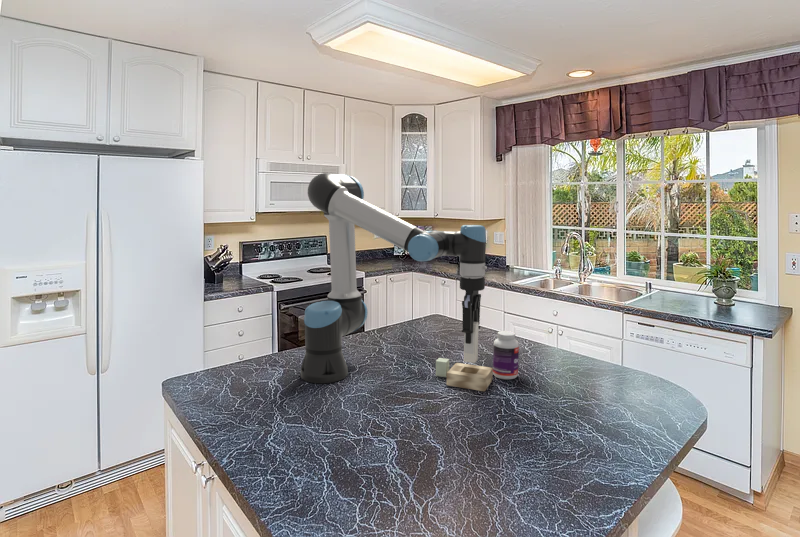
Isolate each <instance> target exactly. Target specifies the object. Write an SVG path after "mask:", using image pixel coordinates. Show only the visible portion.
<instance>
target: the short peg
mask: <svg viewBox="0 0 800 537" xmlns="http://www.w3.org/2000/svg"><path fill="white" fill-rule="evenodd" d="M449 370H450V358H443V357H438V358H437V359H436V360H435V376H436V377H442V378H447V372H448V371H449Z"/></svg>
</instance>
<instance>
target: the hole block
mask: <svg viewBox="0 0 800 537" xmlns="http://www.w3.org/2000/svg"><path fill="white" fill-rule="evenodd" d="M493 380H494V379H493V367H489V366H483V365H476V364H475V365H474V364H468V363H461V362H456V363H454V364H453V365H452V367H450V368H449V371H448V372H447V377H446V386H450V387H455V388H461V389H468V390H475V391H478V392H486V390H487V389H488V388H489V386H490V384H491V383H492V382H493Z"/></svg>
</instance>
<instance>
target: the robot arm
mask: <svg viewBox="0 0 800 537" xmlns="http://www.w3.org/2000/svg"><path fill="white" fill-rule="evenodd" d="M307 197H308V200H309V202H310V204H312V205H313V207H315V208H316V209H317V210H319V211H322V212H323V216H324V217H325V219H327V220H328V228H329V229H328V234H329V255H330V256H329V257H330V259H329V260H330V281H331V283H330V284H331V291H330V292H329V293H328V294H327V300H321V301H316V302H313V303H311V304H309V305H307V307H306V308H305V310H304V318H303V323H304V342H305V343H304V346H305V351H304V352H305V354H304V357H303V361H302V363H301V367H300V378H301V379H302V381H305V382H308V383H312V384H329V383H335V382H339V381H341V380H344V379H345V378H346V377H347V376H348V375H349V374H348V373H349V371H348V370H349V368H348V365H347V362H346V359H345V357H344V353H343V347H342V346H343V345H342V344H343V337H346V335H349V334H351V333H353V332H356V331H357V330H359V329H360V328H361V327H362V326H364V324H365V322H366V321H367V318H368V308H367V305H366V303H365V302H364V300H363V299H362V293H361V292H360V291H359V290H358V288H357V287H358V286H357V285H358V284H357V259H356V256H357V255H356V231H355V229H356V228H355V226H357V227H359V228H361V229H363V230H365V231H367V232H369V233H370V234H372V235H375V236H376V237H379V238H380V239H383V240H384V241H386V242H388V243H390V244H392V245H394V246H396V247H398V248H400V249H401V250H404V251H405V252H407V253H408V255H409V256H410V257H411V258H412V259H413V260H414V261H417V262H429V261H432V260H434V259H436V258H439V257H443V256H445V257H446V256H449V257H459V258H460V260H459V275H460V277H459V289H461V290H462V291H465V295H464V296H463V300H462V301H461V307H462V330H461V333H463V334H464V333H465V341H464V340H463V354H464V353H469V354H473V353H474V333H473V323H474V322H479V325H478V330H479V329H481V325H480V323H481V322H480V320H481V319H480V317H481V300H482V298H481V297H482V293H479V291H484V290H485V285H486V278H485V277H484V276H486V270H487V268H488V267H487V265H486V253H487V252H486V247H487V246H486V245H487V235H486V234H487V233H486V232H487V230H486V227H485V226H484V225H480V224H463V225H461V227H460V229H459V231H457V230H455V231H453V230H452V231H448V230H445V231H444V230H426V231H425V230H423V229H421V228H419V227H418V226H415V225H414V224H411V223H409V222H408V221H405V220H403V219H401V218H400V217H397V216H395V215H393V213H392V214H391V213H389V212H387V211H385V210H384V209H381V208H379V207H377V206H376V205H374V204H371V203H369V202H367V201H365V200H364V198H365V193H364V187H363V185H362V184H361V182H360V181H359V180H358V178H356V177H354V176H351V175H349V174H344V173H339V174H338V173H329V172H327V173H326V172H324V173H319V174H318V175H316V176H314V177H313V178H311V180H310V181H309V184H308V187H307Z"/></svg>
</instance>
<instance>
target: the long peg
mask: <svg viewBox="0 0 800 537" xmlns="http://www.w3.org/2000/svg"><path fill="white" fill-rule="evenodd" d="M478 326H480V324H479V322H474V323H473V333H474V353H473V354H469V353H464V352H463V362H465V363H472V364H476V362H477V361H478V359H479V357H478V356H479V354H478V353H479V329H478ZM463 335H464V336H463V342H464V341H465V333H464V332H463Z"/></svg>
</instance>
